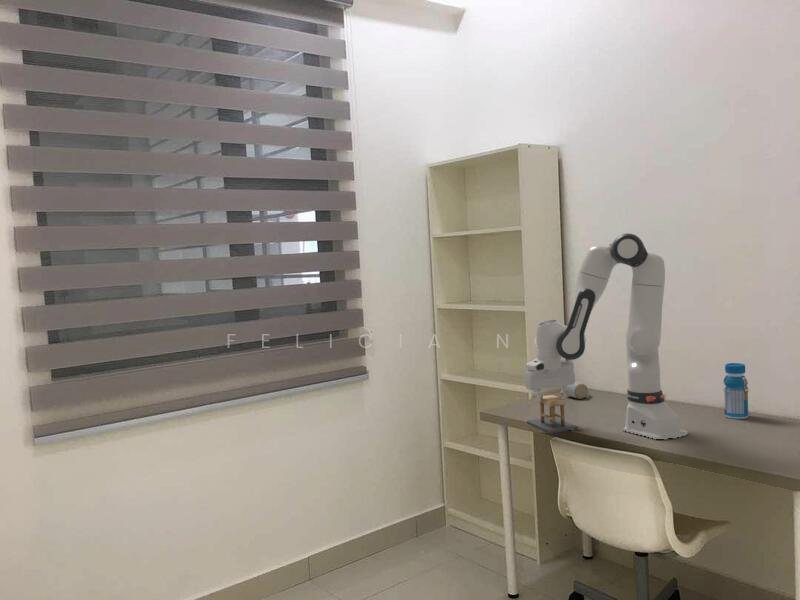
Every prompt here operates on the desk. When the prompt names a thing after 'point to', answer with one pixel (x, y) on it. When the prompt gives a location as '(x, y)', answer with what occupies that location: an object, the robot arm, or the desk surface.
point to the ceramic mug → (577, 390)
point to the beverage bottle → (735, 391)
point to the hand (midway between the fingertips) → (551, 398)
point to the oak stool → (552, 408)
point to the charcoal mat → (548, 425)
